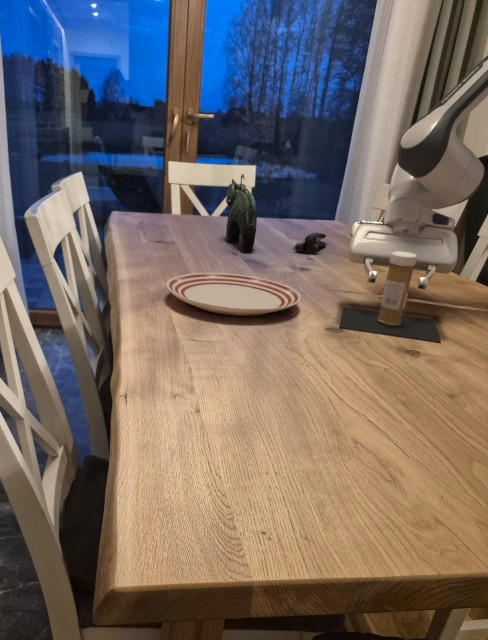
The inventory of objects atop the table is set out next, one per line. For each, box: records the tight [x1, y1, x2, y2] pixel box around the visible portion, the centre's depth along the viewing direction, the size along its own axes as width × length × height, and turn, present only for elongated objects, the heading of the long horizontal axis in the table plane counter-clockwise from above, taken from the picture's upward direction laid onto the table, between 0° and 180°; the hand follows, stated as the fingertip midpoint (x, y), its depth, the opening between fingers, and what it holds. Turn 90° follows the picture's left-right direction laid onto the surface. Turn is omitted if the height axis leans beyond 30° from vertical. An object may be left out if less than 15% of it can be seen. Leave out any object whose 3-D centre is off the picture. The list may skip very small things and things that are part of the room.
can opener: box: [294, 231, 327, 254], centre depth 171 cm, size 18×7×6 cm, turn 148°
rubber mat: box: [338, 306, 442, 344], centre depth 111 cm, size 18×14×1 cm
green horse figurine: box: [225, 173, 258, 254], centre depth 166 cm, size 20×6×20 cm, turn 11°
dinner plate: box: [165, 272, 302, 317], centre depth 117 cm, size 28×27×3 cm
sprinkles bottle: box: [378, 251, 417, 326], centre depth 108 cm, size 5×5×13 cm
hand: (396, 284), depth 111 cm, fingers open, 8 cm apart
